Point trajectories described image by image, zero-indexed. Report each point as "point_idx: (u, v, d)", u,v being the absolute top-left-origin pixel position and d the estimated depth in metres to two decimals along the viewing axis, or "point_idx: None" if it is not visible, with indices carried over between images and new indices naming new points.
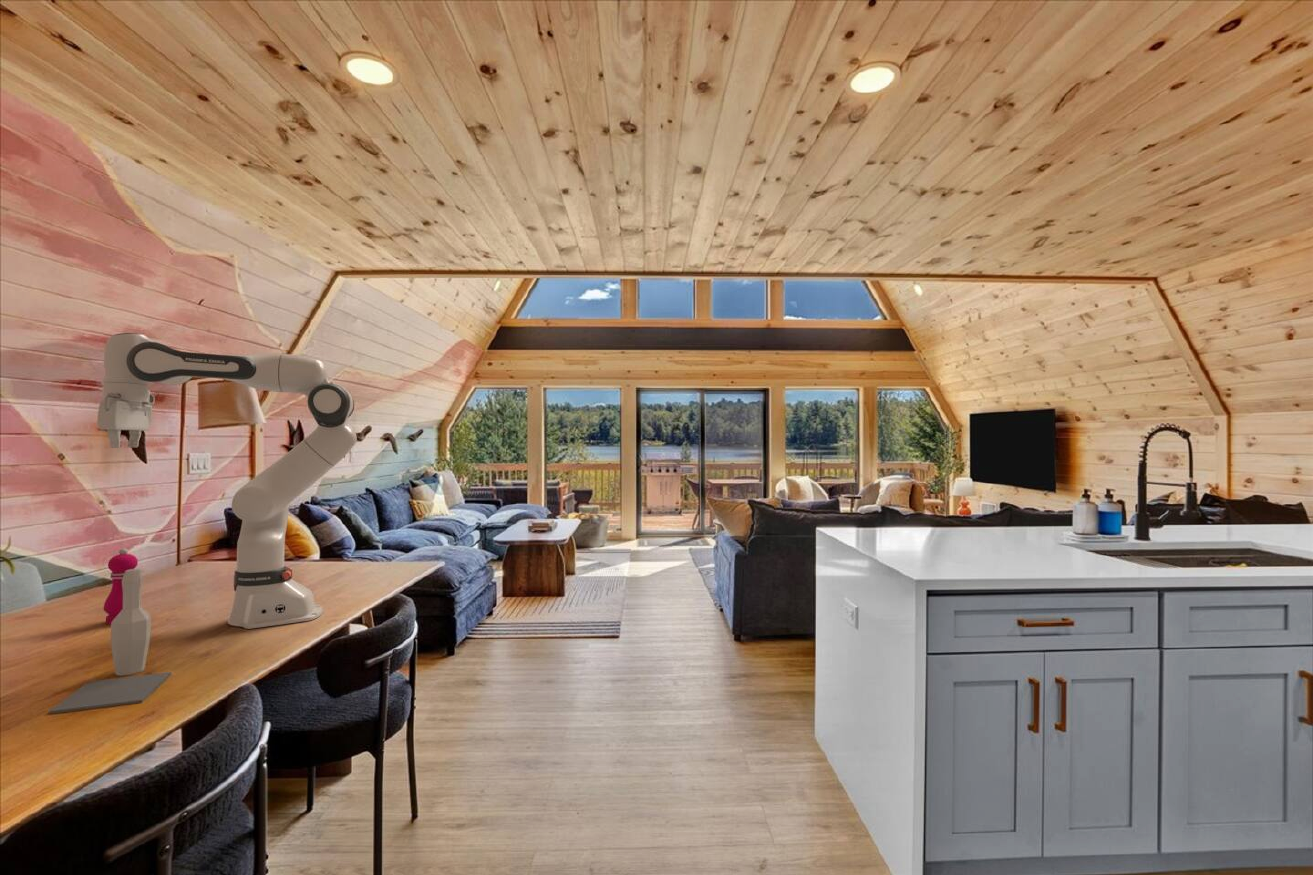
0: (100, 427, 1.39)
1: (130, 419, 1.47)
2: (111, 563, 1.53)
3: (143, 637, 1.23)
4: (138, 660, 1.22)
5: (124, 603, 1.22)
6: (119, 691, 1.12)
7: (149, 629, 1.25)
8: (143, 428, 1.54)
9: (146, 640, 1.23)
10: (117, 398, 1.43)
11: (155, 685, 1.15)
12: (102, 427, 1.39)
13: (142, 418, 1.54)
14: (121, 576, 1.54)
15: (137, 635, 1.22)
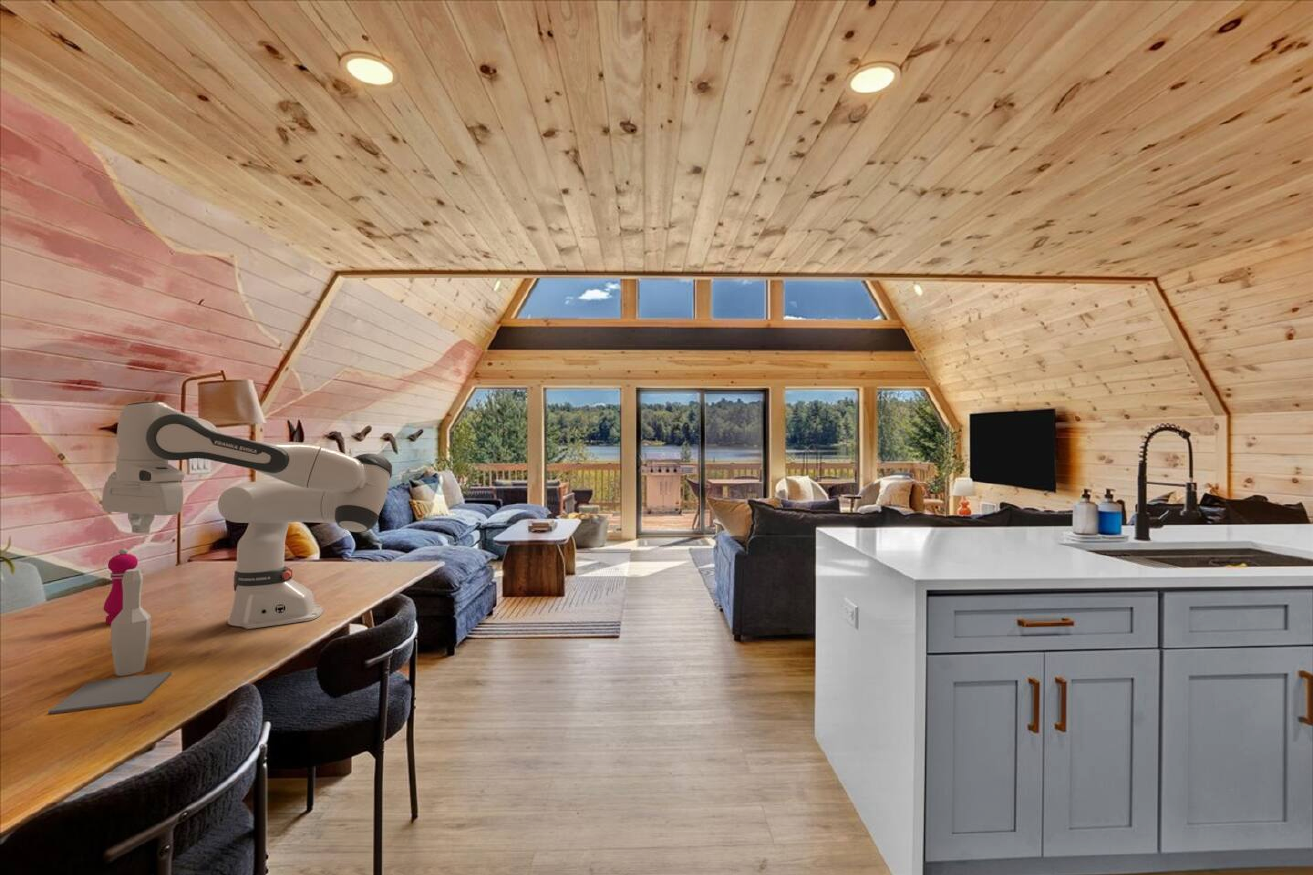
0: None
1: (126, 501, 1.27)
2: (111, 563, 1.53)
3: (143, 637, 1.23)
4: (138, 660, 1.22)
5: (124, 603, 1.22)
6: (119, 691, 1.12)
7: (149, 629, 1.25)
8: (150, 512, 1.26)
9: (146, 640, 1.23)
10: None
11: (155, 685, 1.15)
12: None
13: (148, 500, 1.26)
14: (121, 576, 1.54)
15: (137, 635, 1.22)
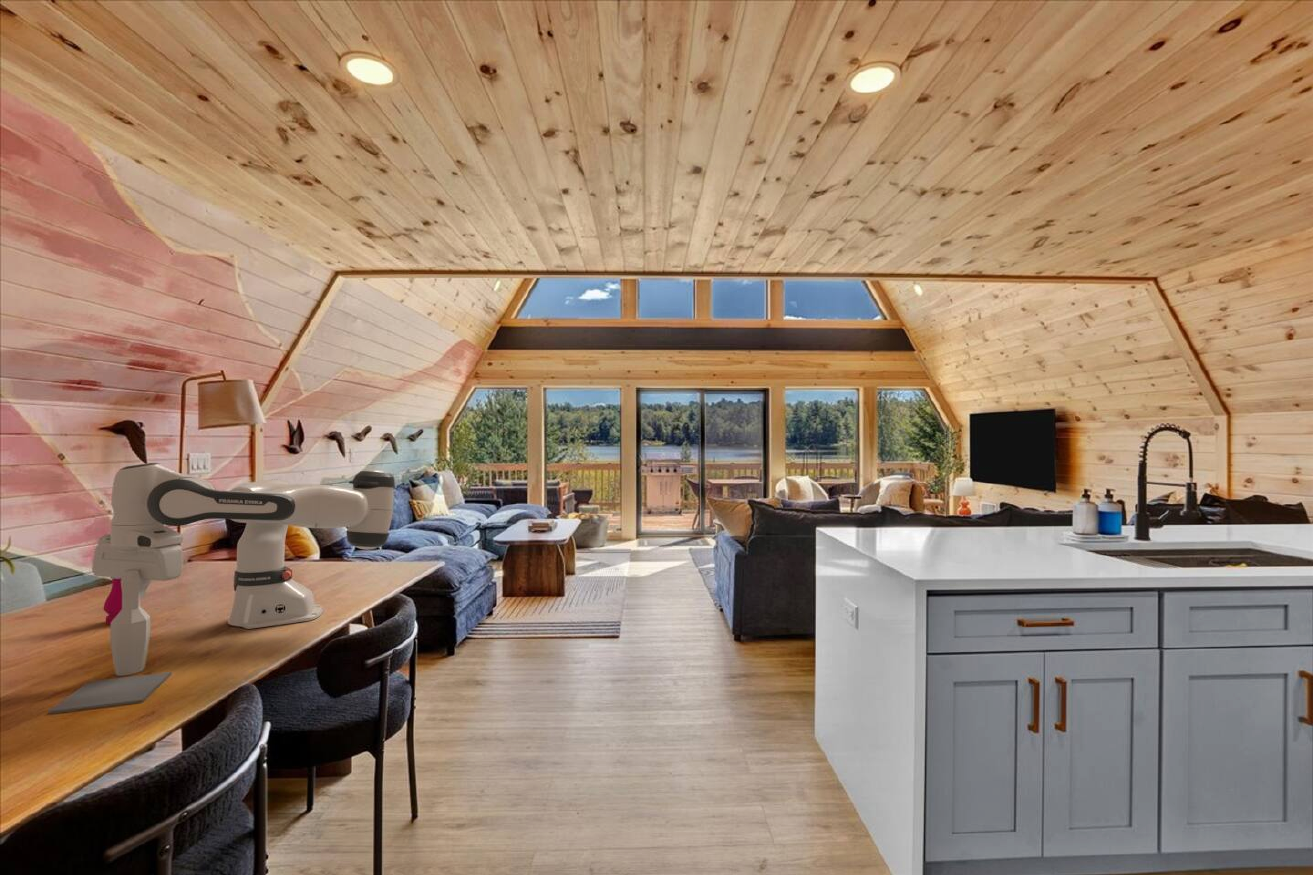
0: None
1: (121, 566, 1.25)
2: None
3: (143, 637, 1.23)
4: (138, 660, 1.22)
5: (124, 604, 1.21)
6: (119, 691, 1.12)
7: (149, 629, 1.25)
8: (149, 577, 1.23)
9: (146, 640, 1.23)
10: None
11: (155, 685, 1.15)
12: None
13: (146, 565, 1.24)
14: None
15: (136, 635, 1.21)
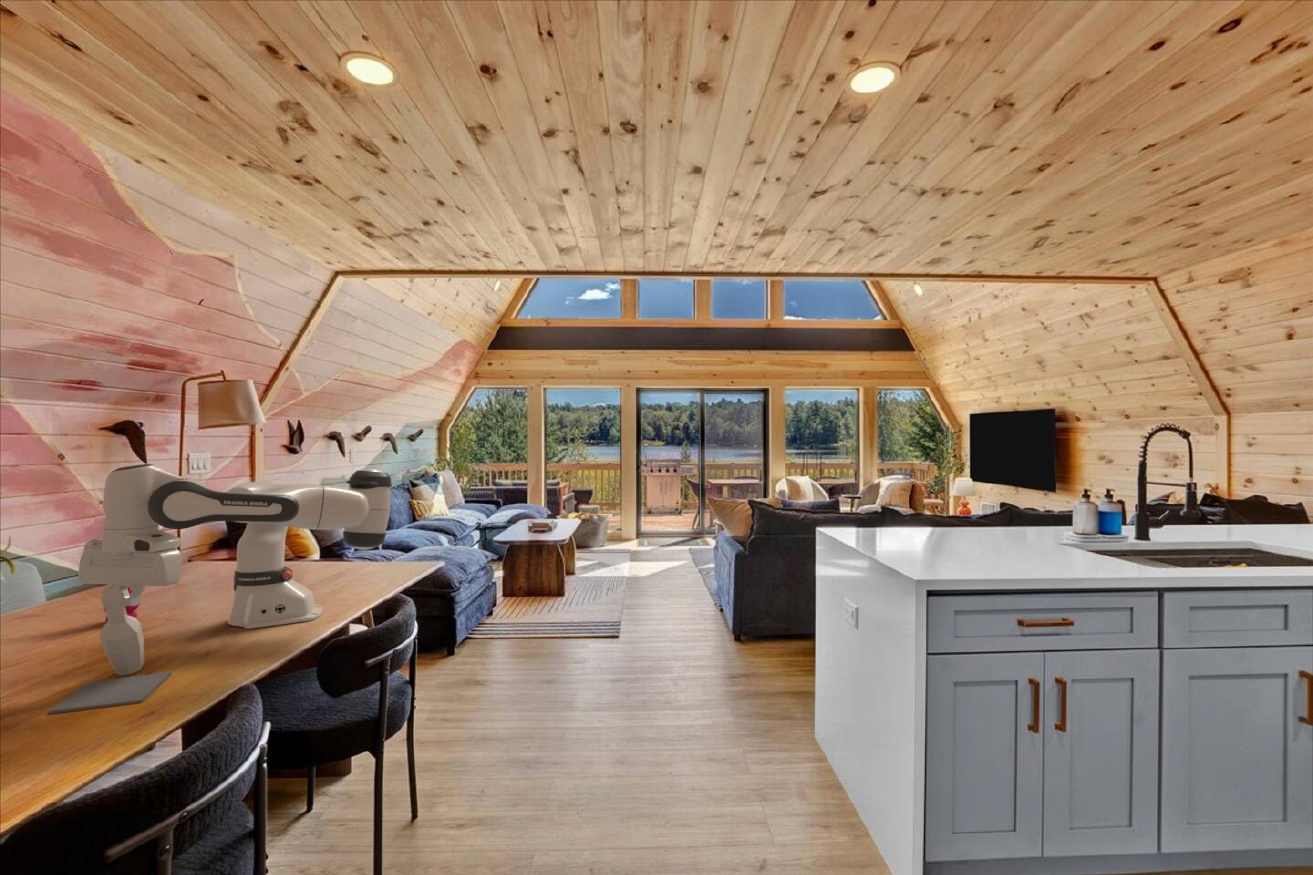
0: None
1: (113, 572, 1.19)
2: None
3: (137, 646, 1.19)
4: (136, 662, 1.21)
5: (109, 620, 1.15)
6: (119, 691, 1.12)
7: (141, 634, 1.21)
8: (146, 583, 1.19)
9: (140, 646, 1.20)
10: None
11: (155, 685, 1.15)
12: None
13: (143, 570, 1.19)
14: None
15: (129, 646, 1.18)
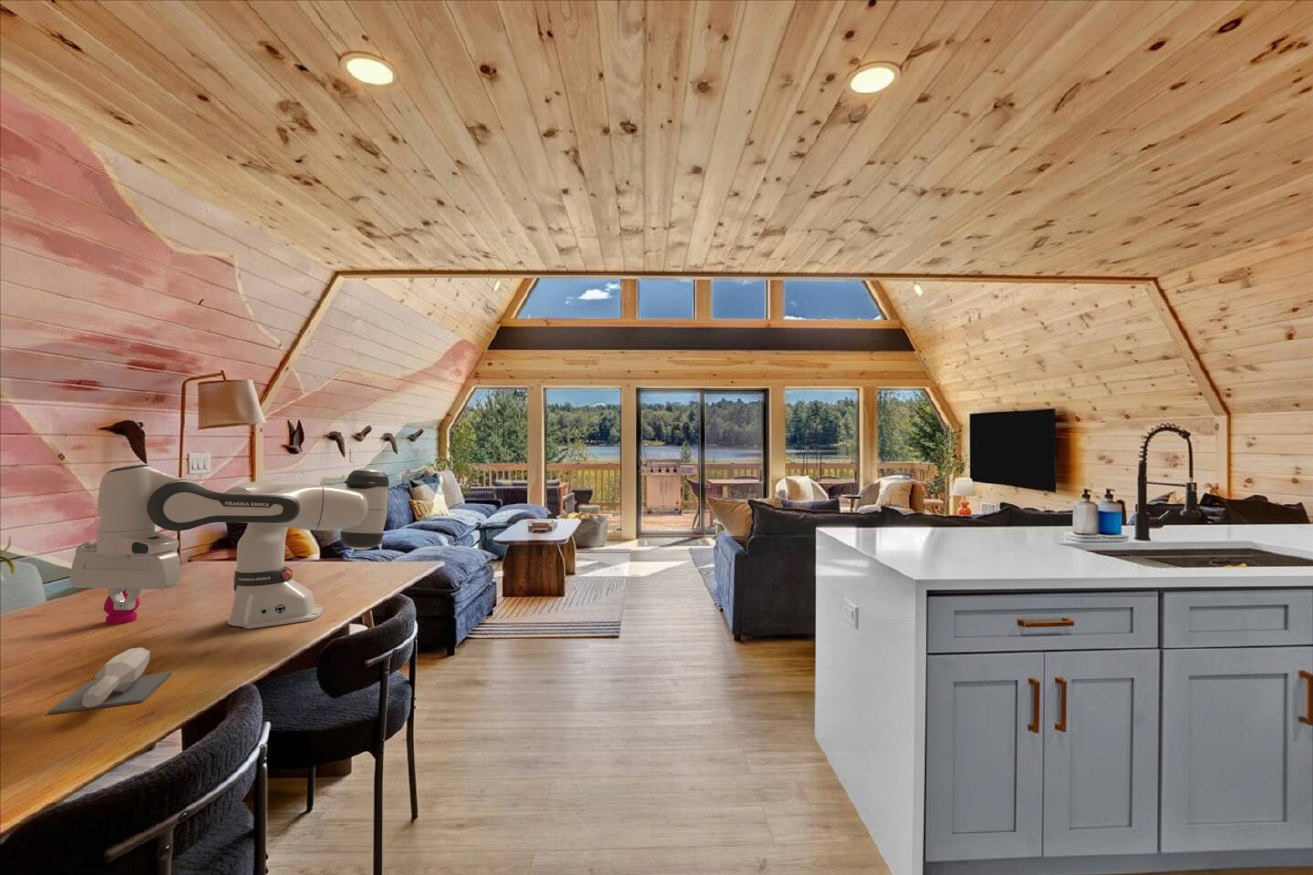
0: None
1: (108, 575, 1.16)
2: None
3: None
4: None
5: None
6: None
7: None
8: (144, 586, 1.16)
9: (135, 680, 1.16)
10: None
11: (155, 685, 1.15)
12: None
13: (140, 573, 1.16)
14: None
15: None
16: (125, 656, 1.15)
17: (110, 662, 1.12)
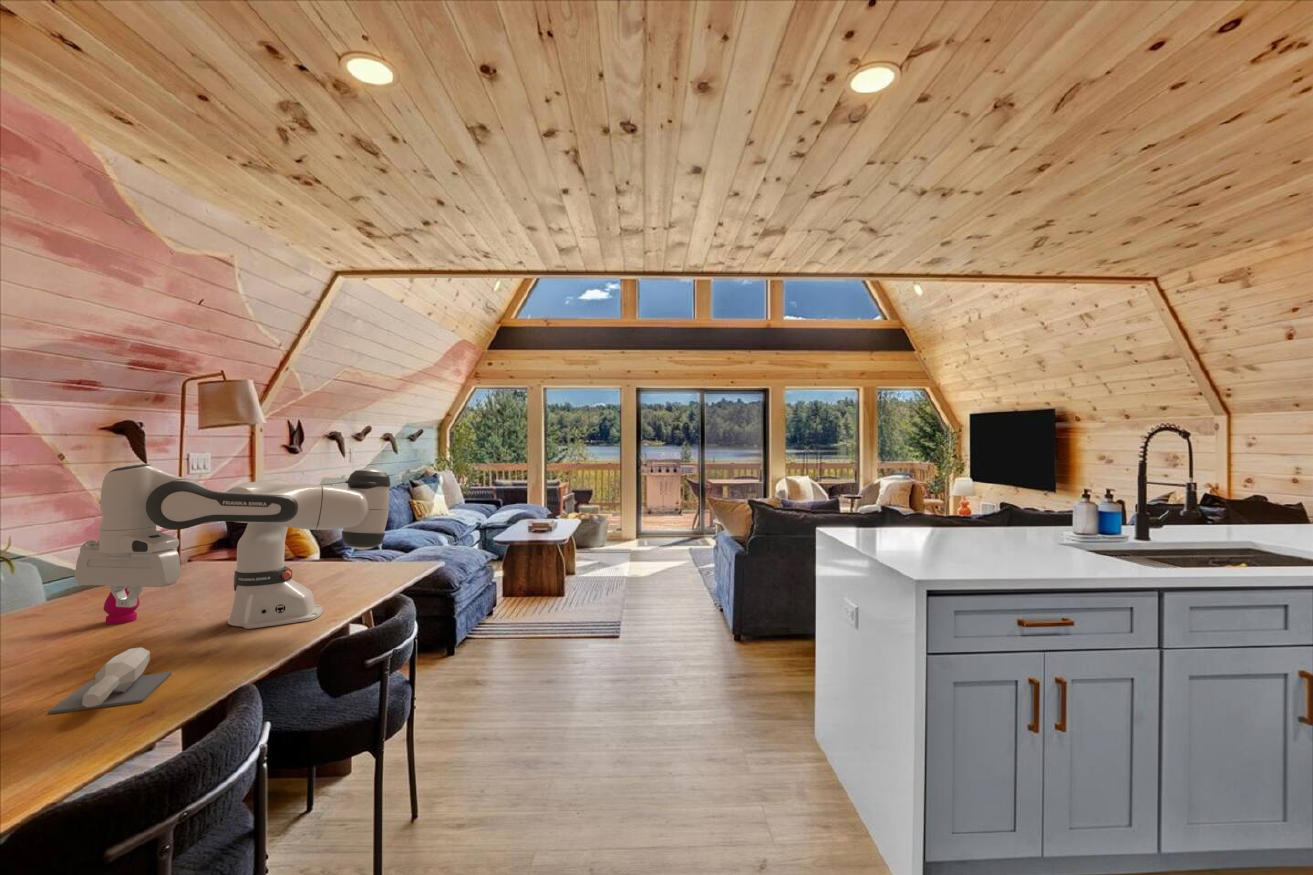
0: None
1: (110, 573, 1.18)
2: None
3: None
4: None
5: None
6: None
7: None
8: (144, 584, 1.18)
9: (135, 680, 1.16)
10: None
11: (155, 685, 1.15)
12: None
13: (140, 571, 1.18)
14: None
15: None
16: (125, 656, 1.15)
17: (110, 662, 1.12)
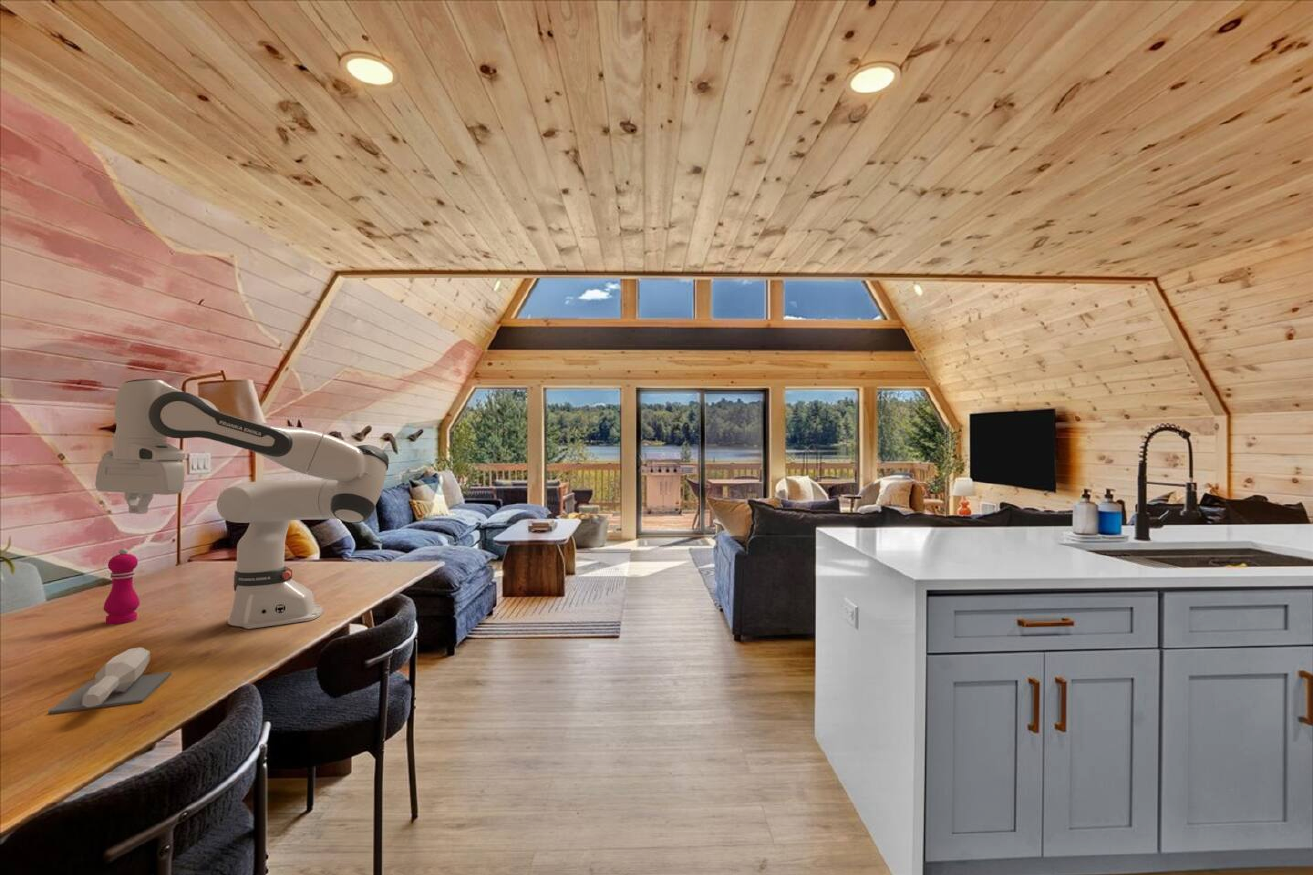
0: None
1: (123, 480, 1.25)
2: (111, 563, 1.53)
3: None
4: None
5: None
6: None
7: None
8: (151, 491, 1.23)
9: (135, 680, 1.16)
10: None
11: (155, 685, 1.15)
12: None
13: (148, 479, 1.23)
14: (121, 576, 1.54)
15: None
16: (125, 656, 1.15)
17: (110, 662, 1.12)
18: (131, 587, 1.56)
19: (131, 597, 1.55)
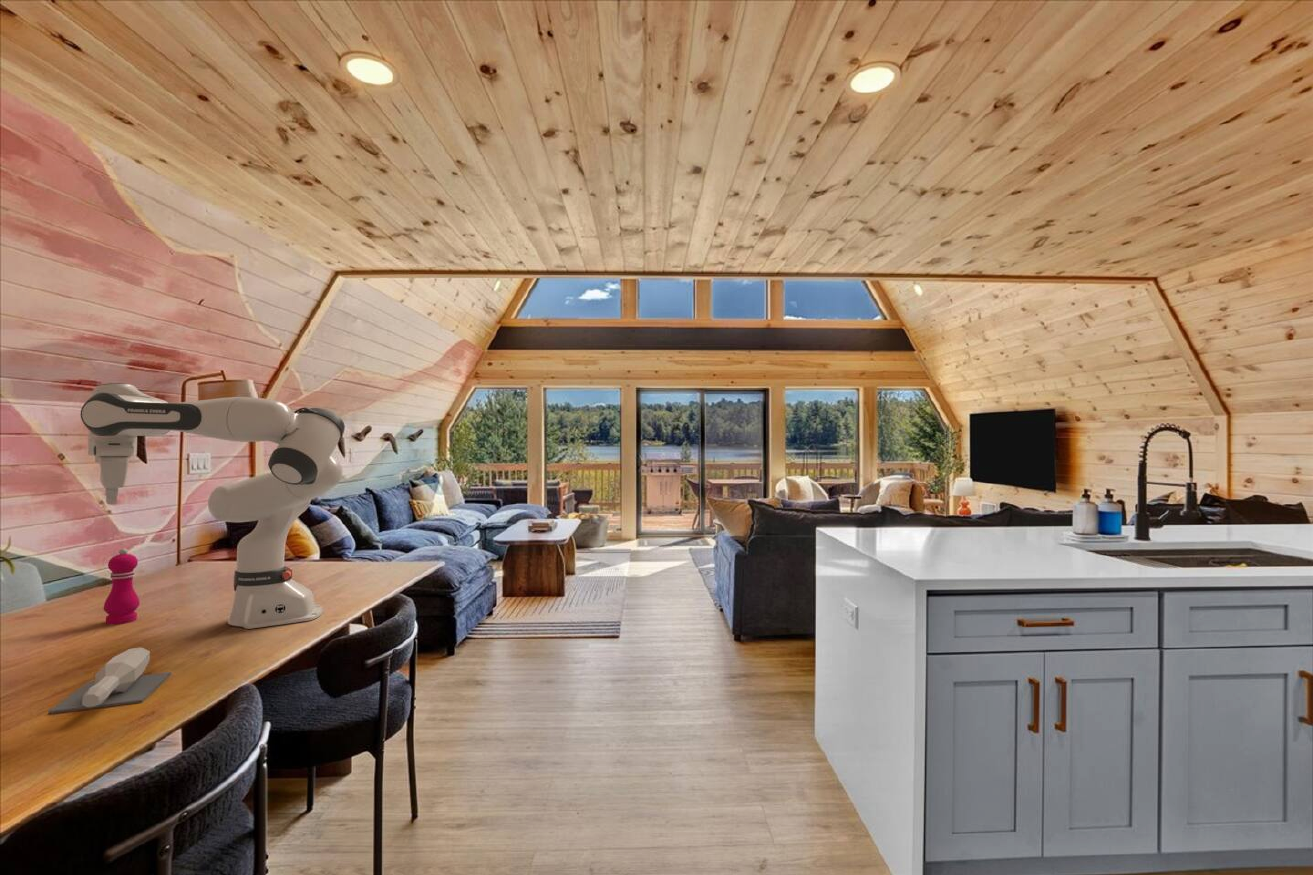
0: None
1: None
2: (111, 563, 1.53)
3: None
4: None
5: None
6: None
7: None
8: (102, 484, 1.36)
9: (135, 680, 1.16)
10: None
11: (155, 685, 1.15)
12: None
13: None
14: (121, 576, 1.54)
15: None
16: (125, 656, 1.15)
17: (110, 662, 1.12)
18: (131, 587, 1.56)
19: (131, 597, 1.55)
